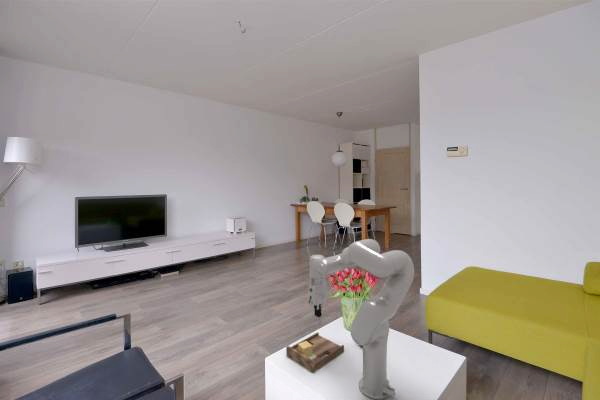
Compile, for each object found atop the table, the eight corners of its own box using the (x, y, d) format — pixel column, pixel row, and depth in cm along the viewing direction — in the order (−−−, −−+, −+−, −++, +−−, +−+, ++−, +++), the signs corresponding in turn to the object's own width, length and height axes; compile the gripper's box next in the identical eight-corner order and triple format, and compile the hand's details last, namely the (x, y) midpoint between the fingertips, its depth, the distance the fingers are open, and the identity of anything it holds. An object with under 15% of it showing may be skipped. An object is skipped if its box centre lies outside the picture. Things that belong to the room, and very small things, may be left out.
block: (312, 355, 135) (312, 345, 135) (303, 359, 132) (303, 348, 132) (306, 350, 139) (306, 340, 139) (298, 353, 137) (298, 343, 136)
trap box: (343, 351, 142) (343, 342, 141) (313, 373, 126) (313, 362, 125) (317, 338, 154) (317, 329, 154) (286, 355, 138) (286, 346, 138)
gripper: (312, 285, 131) (313, 323, 132) (332, 278, 142) (333, 313, 142) (301, 281, 137) (302, 318, 137) (321, 274, 147) (322, 309, 148)
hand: (317, 316), depth 140 cm, fingers closed
